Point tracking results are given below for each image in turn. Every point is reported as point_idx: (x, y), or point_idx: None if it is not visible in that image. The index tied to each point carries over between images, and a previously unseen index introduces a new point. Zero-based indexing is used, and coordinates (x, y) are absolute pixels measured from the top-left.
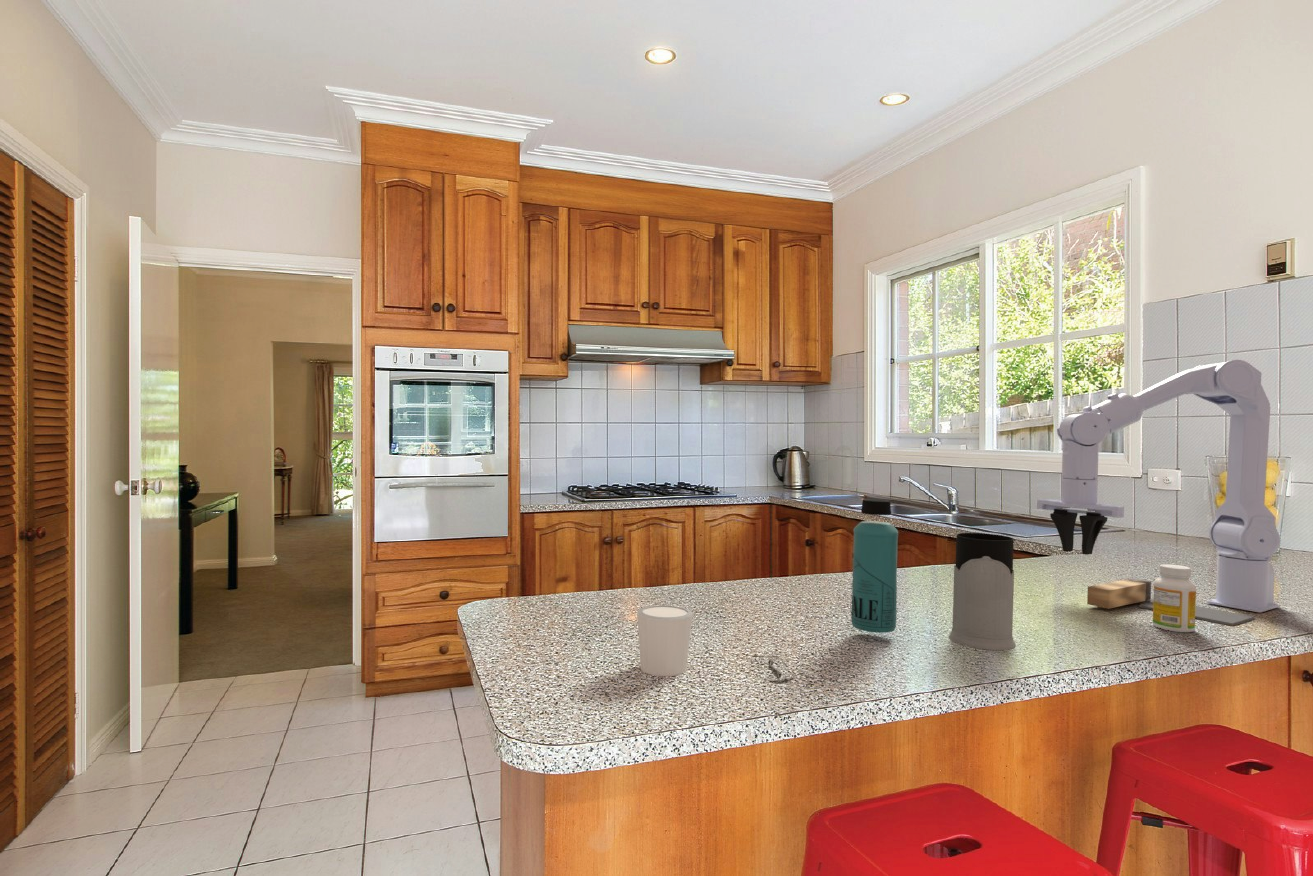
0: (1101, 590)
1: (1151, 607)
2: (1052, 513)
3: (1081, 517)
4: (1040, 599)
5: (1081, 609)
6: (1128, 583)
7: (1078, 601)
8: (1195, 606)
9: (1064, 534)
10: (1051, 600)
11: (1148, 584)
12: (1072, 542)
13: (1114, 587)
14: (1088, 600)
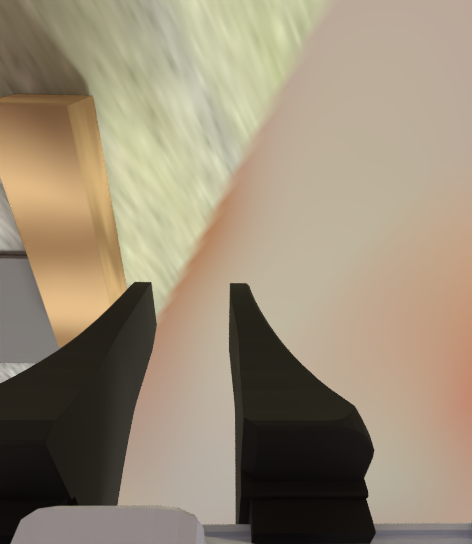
0: (10, 103)
1: (19, 259)
2: (361, 463)
3: (31, 427)
4: (257, 71)
5: (86, 42)
6: (70, 303)
7: (174, 174)
8: (6, 355)
9: (237, 333)
10: (226, 96)
11: None
12: (230, 356)
13: (25, 193)
14: (83, 97)
